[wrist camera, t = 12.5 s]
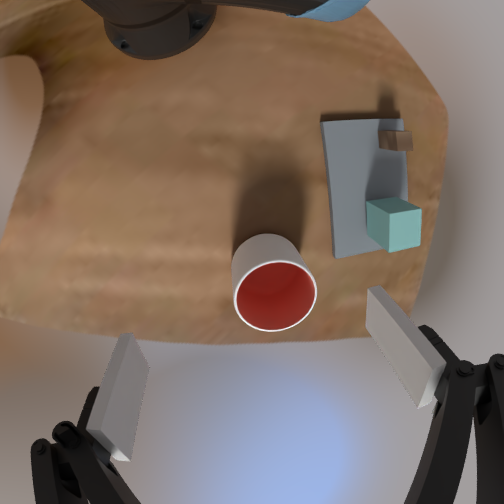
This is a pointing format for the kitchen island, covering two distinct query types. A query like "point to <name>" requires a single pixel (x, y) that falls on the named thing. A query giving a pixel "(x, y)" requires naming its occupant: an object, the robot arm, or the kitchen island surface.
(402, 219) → the teal block
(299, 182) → the kitchen island surface
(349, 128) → the board
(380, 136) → the walnut post
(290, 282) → the cup
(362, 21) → the kitchen island surface
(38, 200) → the kitchen island surface
